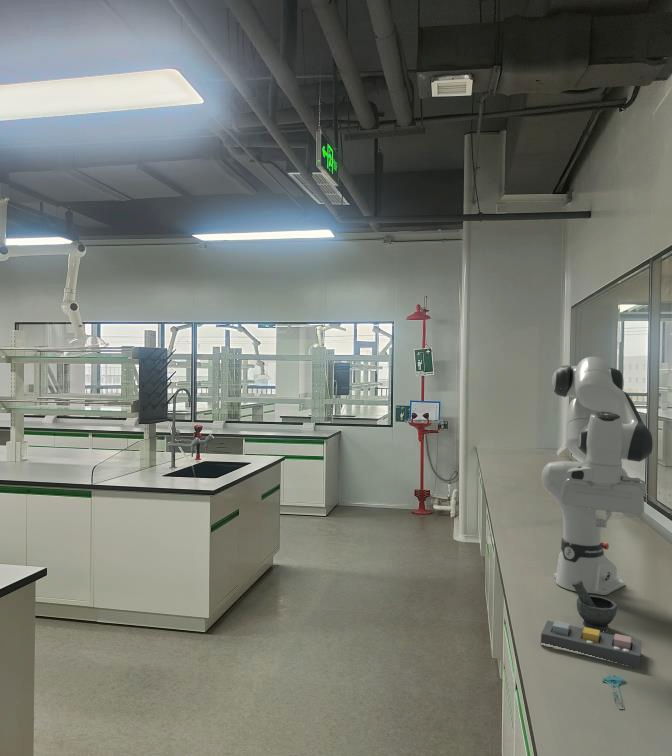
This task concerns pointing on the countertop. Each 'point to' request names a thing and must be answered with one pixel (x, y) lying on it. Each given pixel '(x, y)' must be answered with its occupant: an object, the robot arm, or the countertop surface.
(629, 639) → the button two
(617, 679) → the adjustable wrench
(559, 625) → the button none
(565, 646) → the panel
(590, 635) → the button one
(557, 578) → the robot arm
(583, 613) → the mortar and pestle
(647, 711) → the countertop surface
